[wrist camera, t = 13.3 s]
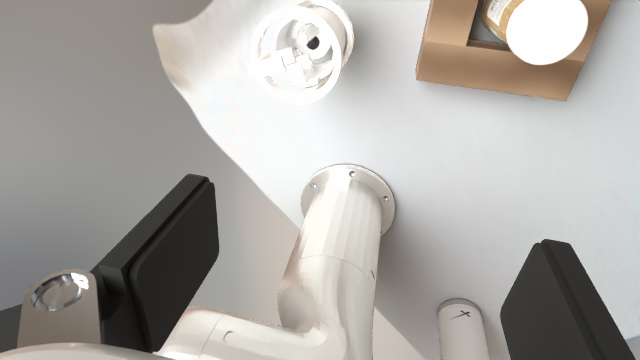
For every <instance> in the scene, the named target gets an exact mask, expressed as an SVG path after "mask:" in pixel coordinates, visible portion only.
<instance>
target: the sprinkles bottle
mask: <svg viewBox="0 0 640 360" xmlns="http://www.w3.org/2000/svg"><path fill="white" fill-rule="evenodd" d="M481 19H482V22H483V24H484V26H485V27H486V28H487V29H488V30H489V31H491V32H493V33H494V34H495V35H496V36H497V37H498V38H499V39H501V40H502V41H504V42H505V43H507V44H508V46H509V48H510V49H511V51H512V52H513V53H514V54H515V55H516V56H517V57H519V58H520V59H522V60H523V61H525V62H527V63H530V64H533V65H547V64H552V63H555V62H558V61H560V60H562V59H564V58H565V57H567V56H568V55H570V54H571V53H572V52H573V51H574V50H575V49H576V48H577V47H578V46H579V44H580V43H581V41H582V40H583V38H584V36H585V34H586V31H587V27H588V14H587V10H586V8H585V6H584V5H583V3H582V2H581V1H580V0H484V2H483V5H482V8H481Z"/></svg>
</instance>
